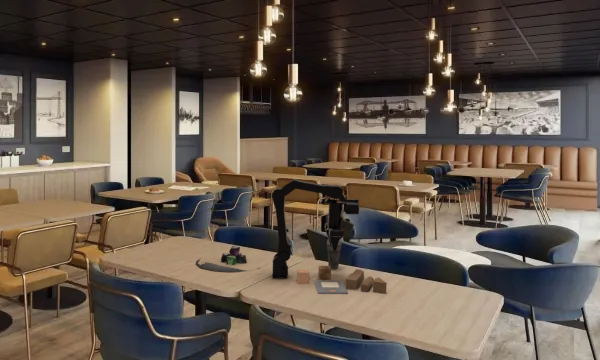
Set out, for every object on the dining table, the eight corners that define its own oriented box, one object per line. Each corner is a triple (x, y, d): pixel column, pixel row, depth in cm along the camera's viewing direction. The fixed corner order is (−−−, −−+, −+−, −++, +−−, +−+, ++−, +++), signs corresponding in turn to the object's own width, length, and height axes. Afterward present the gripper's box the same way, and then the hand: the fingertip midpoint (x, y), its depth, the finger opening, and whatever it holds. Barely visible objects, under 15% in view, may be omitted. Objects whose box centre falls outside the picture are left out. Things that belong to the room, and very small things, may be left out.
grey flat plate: (318, 293, 204) (318, 292, 204) (314, 281, 220) (314, 280, 219) (347, 293, 204) (347, 292, 204) (342, 282, 220) (342, 280, 220)
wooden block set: (345, 277, 210) (355, 266, 227) (345, 290, 210) (355, 278, 227) (386, 281, 204) (393, 270, 221) (385, 295, 205) (393, 283, 222)
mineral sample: (280, 266, 245) (280, 247, 244) (213, 276, 225) (213, 255, 224) (246, 255, 273) (246, 238, 273) (184, 263, 253) (184, 245, 253)
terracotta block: (297, 284, 217) (297, 272, 216) (296, 280, 222) (297, 269, 221) (309, 284, 217) (309, 272, 216) (308, 280, 222) (308, 269, 221)
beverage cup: (340, 270, 238) (341, 228, 236) (324, 269, 239) (325, 227, 237) (341, 266, 245) (343, 226, 243) (326, 265, 246) (328, 225, 244)
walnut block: (319, 279, 223) (319, 268, 223) (318, 276, 228) (318, 265, 228) (330, 279, 224) (331, 268, 223) (329, 276, 228) (329, 265, 228)
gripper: (356, 217, 215) (354, 254, 216) (349, 210, 233) (347, 244, 235) (330, 217, 214) (329, 253, 215) (325, 209, 232) (323, 243, 234)
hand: (333, 248), depth 225 cm, fingers open, 9 cm apart
